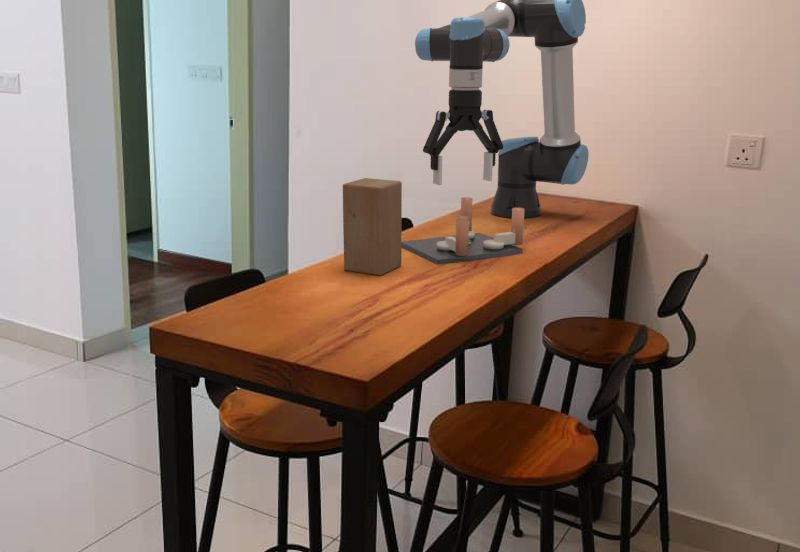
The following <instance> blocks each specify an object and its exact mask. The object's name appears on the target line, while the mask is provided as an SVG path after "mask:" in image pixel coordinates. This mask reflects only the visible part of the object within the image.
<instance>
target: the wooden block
mask: <svg viewBox="0 0 800 552" xmlns="http://www.w3.org/2000/svg"><path fill="white" fill-rule="evenodd" d="M402 186H403V185H402V181H400V180H392V179H391V180H390V179H379V178H369V177H365V178H360V179H357V180H353V181H350V182H345V183H343V184H342V218H343V220H342V224H343V227H342V229H343V231H342V233H343V269H344V271H346V272H347V271H348V272H355V273H361V274H369V275H375V276H384V275H385V274H387V273H390V272H391V271H393V270H395V269H397V268H400V267H401V266H402V247H401V242H402V231H403V229H402V224H403V223H402V213H403V210H402V202H403V201H402V200H403V199H402V195H403V194H402V193H403V191H402V190H403V189H402Z"/></svg>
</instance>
